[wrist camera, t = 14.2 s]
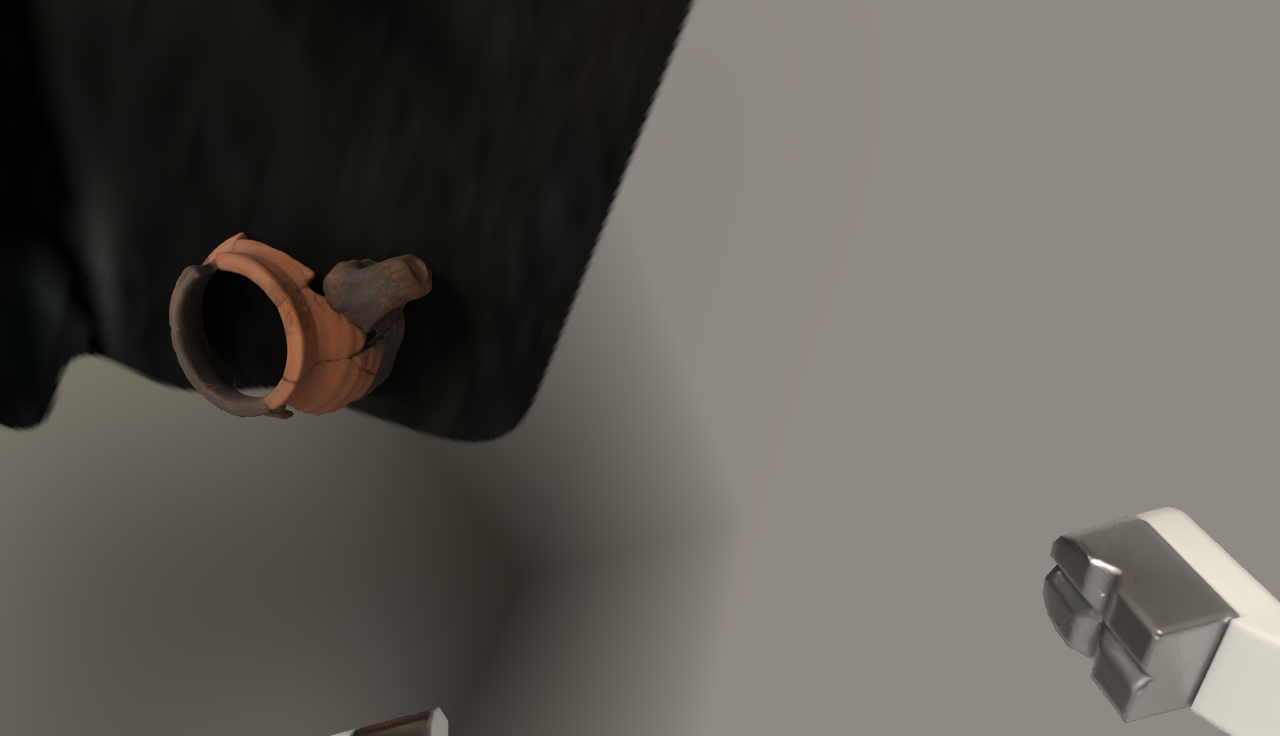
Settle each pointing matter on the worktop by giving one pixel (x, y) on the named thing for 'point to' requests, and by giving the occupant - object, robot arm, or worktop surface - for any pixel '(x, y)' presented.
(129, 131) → the worktop surface
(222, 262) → the pottery mug
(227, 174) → the worktop surface
